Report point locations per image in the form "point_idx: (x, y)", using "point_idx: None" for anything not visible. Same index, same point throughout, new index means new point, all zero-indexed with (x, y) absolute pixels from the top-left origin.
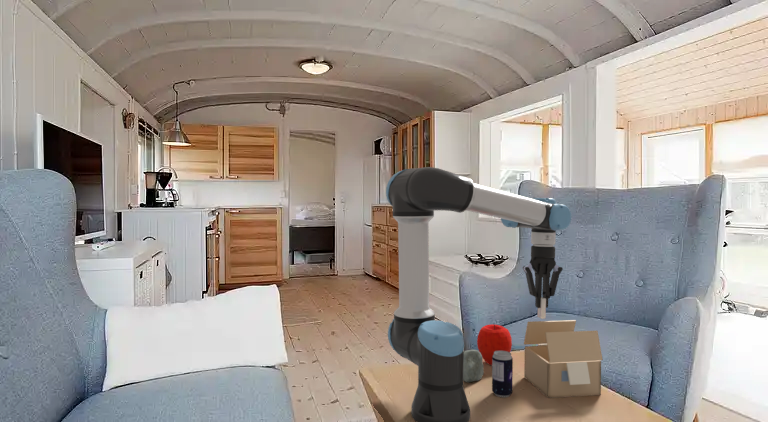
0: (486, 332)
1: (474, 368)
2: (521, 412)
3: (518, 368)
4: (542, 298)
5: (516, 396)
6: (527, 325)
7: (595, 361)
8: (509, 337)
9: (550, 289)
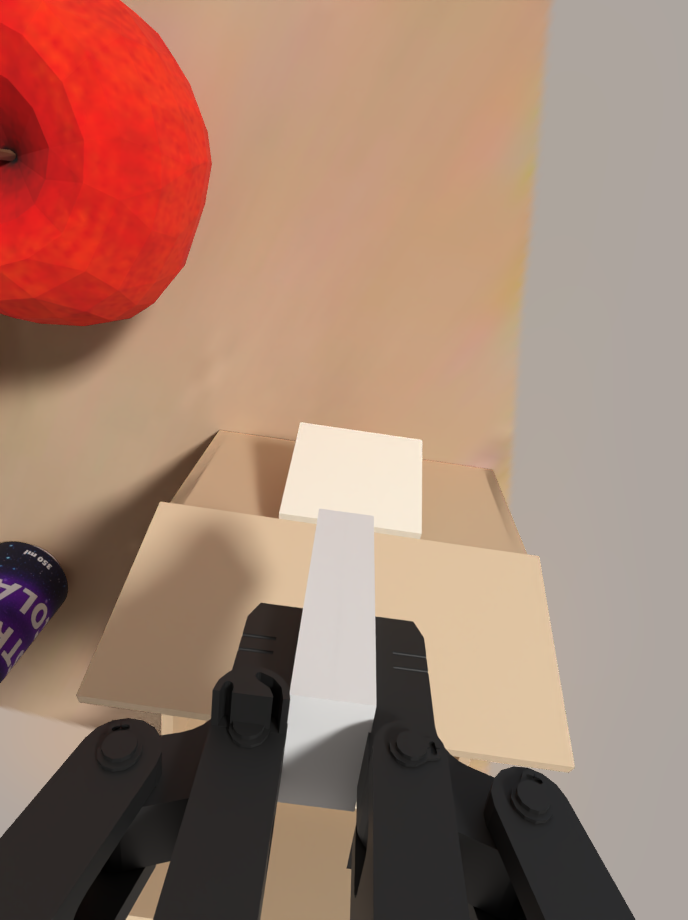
0: None
1: None
2: (55, 703)
3: (252, 295)
4: (297, 796)
5: (86, 600)
6: (94, 662)
7: None
8: (124, 295)
9: (558, 912)
